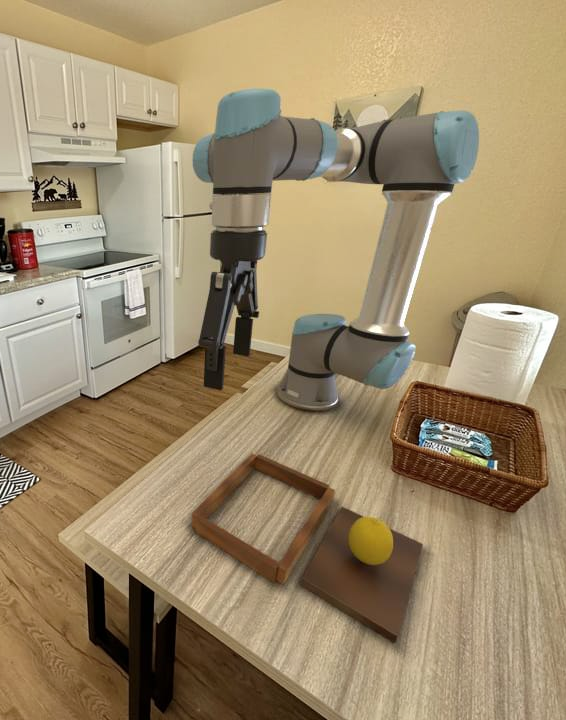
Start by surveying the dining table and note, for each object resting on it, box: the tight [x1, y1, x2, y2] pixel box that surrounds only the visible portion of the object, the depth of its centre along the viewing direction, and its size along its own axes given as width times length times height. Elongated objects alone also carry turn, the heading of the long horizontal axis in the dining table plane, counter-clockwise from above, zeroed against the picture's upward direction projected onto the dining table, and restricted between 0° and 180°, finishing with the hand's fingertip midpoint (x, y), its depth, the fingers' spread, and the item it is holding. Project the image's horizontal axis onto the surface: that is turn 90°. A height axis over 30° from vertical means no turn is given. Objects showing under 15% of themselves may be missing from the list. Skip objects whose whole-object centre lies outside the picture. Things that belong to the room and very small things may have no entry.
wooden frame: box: [191, 453, 336, 586], centre depth 67 cm, size 22×16×3 cm
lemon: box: [348, 516, 393, 565], centre depth 56 cm, size 6×6×8 cm
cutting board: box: [300, 506, 424, 644], centre depth 58 cm, size 18×12×2 cm, turn 138°
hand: (228, 369), depth 61 cm, fingers open, 13 cm apart
